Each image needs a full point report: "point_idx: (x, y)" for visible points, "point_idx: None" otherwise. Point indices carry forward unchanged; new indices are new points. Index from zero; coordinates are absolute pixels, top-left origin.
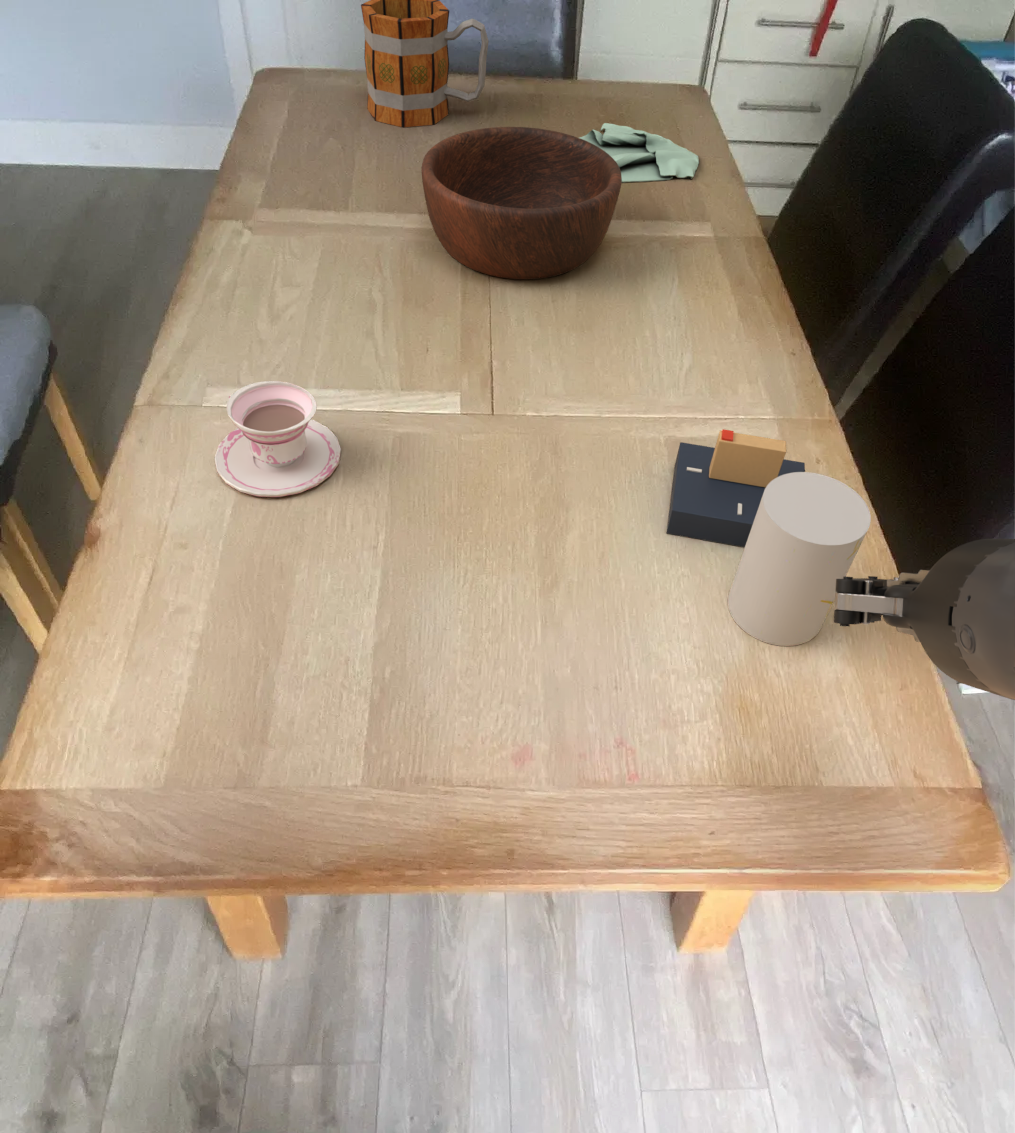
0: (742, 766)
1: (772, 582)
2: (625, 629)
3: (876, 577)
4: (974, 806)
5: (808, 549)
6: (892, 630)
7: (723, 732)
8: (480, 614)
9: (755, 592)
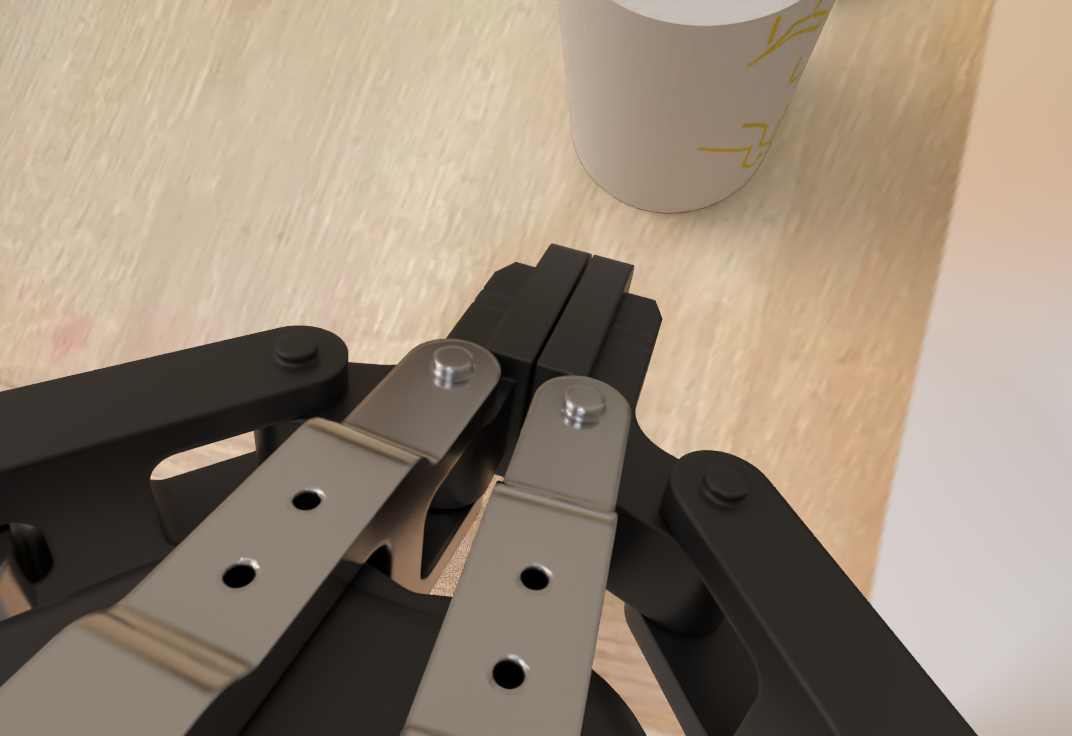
0: None
1: (582, 84)
2: (352, 114)
3: (296, 359)
4: None
5: (618, 23)
6: (905, 217)
7: None
8: (112, 36)
9: (571, 93)
